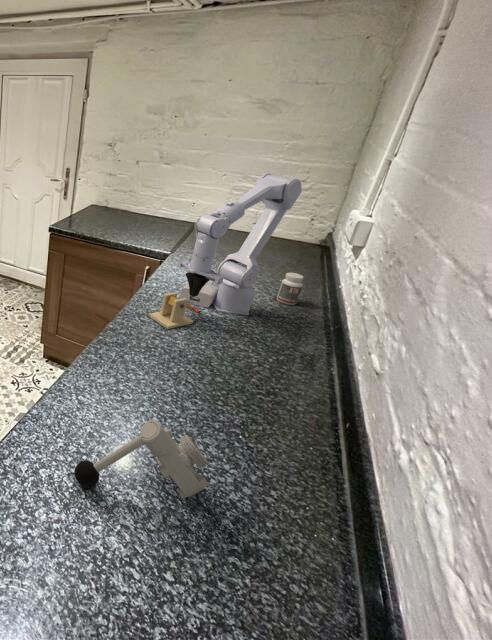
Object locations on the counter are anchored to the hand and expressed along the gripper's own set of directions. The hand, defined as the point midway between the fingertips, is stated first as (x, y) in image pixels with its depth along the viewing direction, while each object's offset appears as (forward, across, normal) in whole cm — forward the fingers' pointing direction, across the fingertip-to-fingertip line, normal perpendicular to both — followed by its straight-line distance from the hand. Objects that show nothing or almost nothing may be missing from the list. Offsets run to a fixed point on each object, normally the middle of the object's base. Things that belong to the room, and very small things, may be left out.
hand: (193, 295), depth 124 cm
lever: (+3, +1, -5) cm, 6 cm away
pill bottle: (+7, +5, +40) cm, 41 cm away
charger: (+7, -8, +14) cm, 18 cm away
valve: (+7, +42, -58) cm, 72 cm away
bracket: (+7, +1, -9) cm, 11 cm away
